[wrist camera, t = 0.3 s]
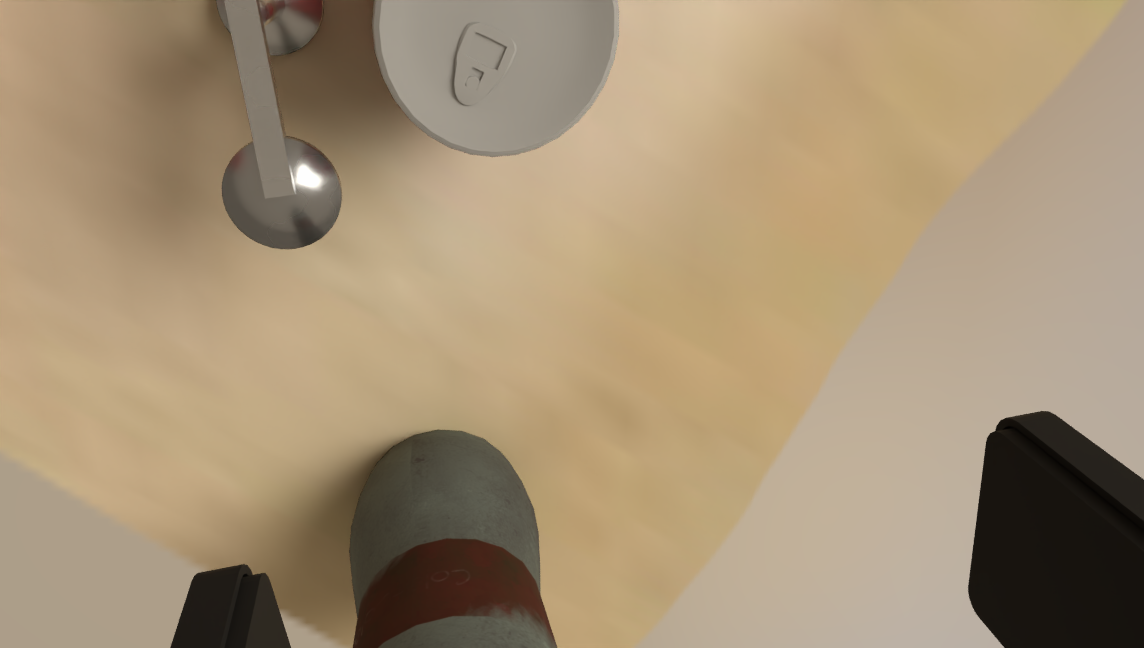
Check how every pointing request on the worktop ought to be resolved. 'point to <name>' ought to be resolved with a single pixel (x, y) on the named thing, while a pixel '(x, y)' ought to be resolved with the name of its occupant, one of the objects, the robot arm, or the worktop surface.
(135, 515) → the worktop surface
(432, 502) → the bottle
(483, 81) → the canned food
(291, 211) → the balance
